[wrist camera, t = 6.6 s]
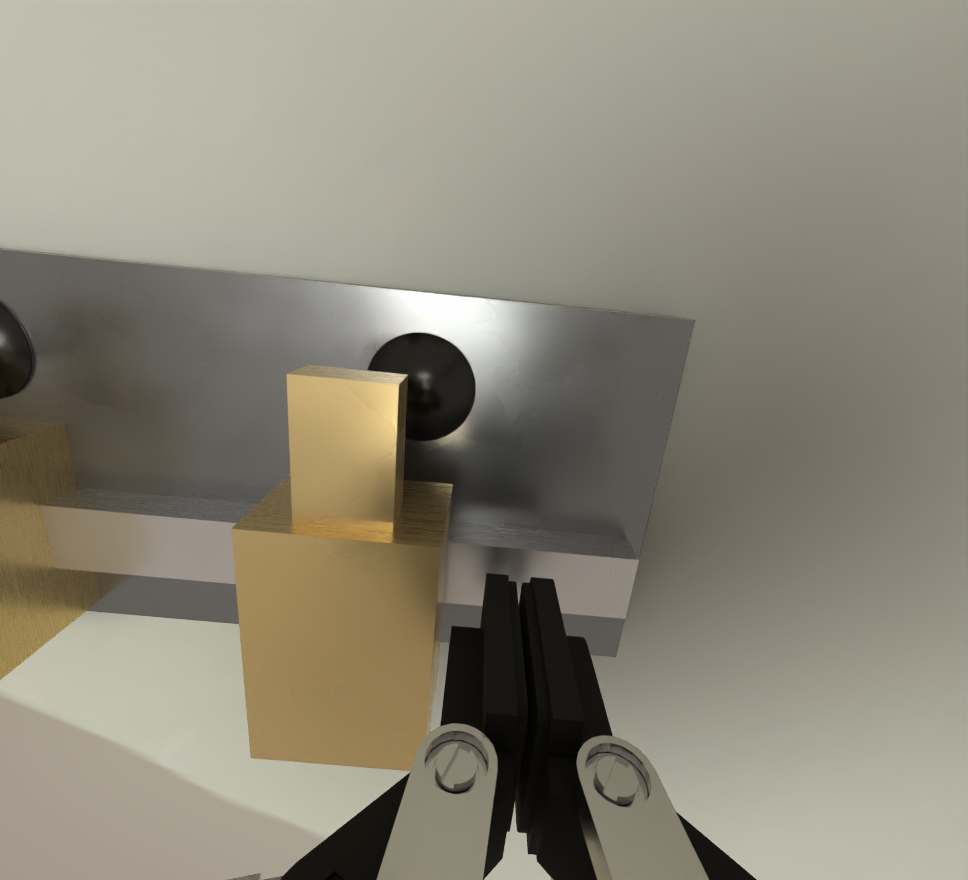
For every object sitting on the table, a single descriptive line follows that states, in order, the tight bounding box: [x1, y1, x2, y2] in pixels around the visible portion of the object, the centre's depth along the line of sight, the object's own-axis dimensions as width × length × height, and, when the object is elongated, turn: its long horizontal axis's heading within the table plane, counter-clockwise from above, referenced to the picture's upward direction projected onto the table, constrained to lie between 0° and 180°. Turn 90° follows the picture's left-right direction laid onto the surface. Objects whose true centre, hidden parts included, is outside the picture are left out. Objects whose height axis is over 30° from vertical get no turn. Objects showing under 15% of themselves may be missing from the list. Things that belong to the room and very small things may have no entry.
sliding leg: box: [231, 365, 453, 771], centre depth 11 cm, size 4×9×4 cm, turn 174°
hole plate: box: [0, 248, 695, 680], centre depth 12 cm, size 22×11×6 cm, turn 84°
